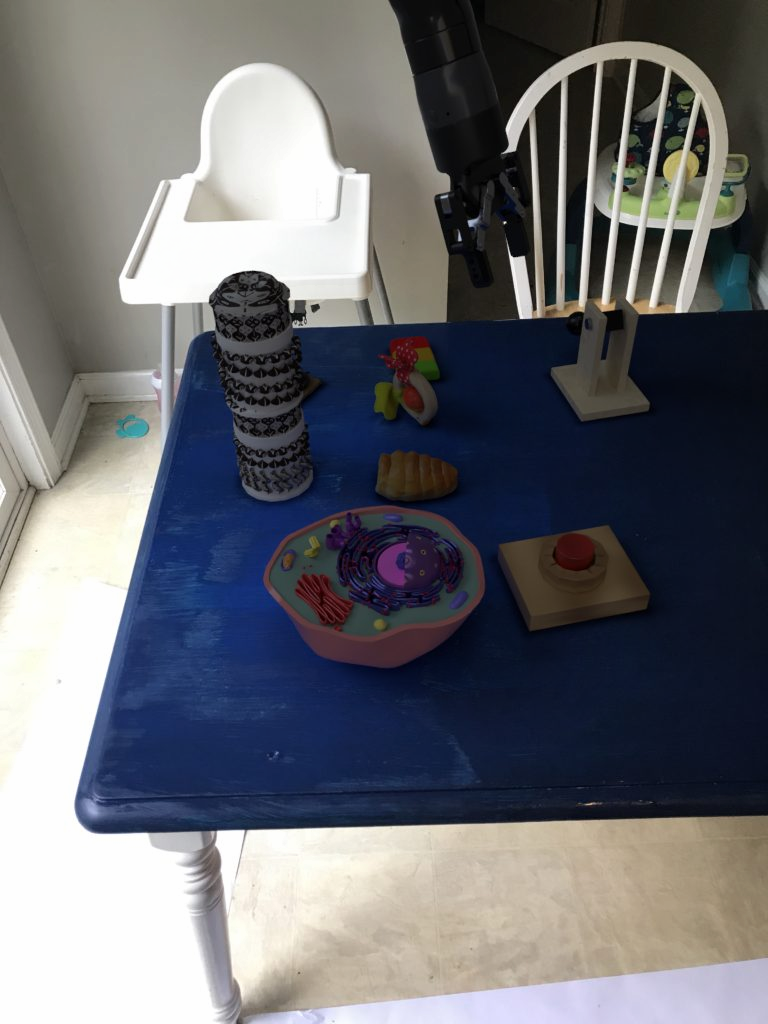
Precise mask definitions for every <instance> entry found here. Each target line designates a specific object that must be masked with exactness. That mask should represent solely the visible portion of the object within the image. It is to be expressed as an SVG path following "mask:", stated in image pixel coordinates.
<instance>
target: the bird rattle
mask: <svg viewBox="0 0 768 1024" xmlns="http://www.w3.org/2000/svg"><path fill="white" fill-rule="evenodd" d="M378 358H379V359H381V360H384V361H385V366H386V368H387V369H389V370H393V369H397V371H396V370H395V373H394V374H393V377H392V382H387V381H384V382H383V381H380V382H378V383H376V385H375V387H374V395H375V400H374V401H375V402H374V405H373V410H374V413H376V414H379V413H383V417H384V418H385V420H387V421H393V420H395V419H396V418H397V412H398V407H399V404H400V405H401V406H402V408H403V409H404V410H405V411H406V412H407V413H408V414H409V415H410V417H412V418H413V419H415V420H416V422H418V423H419V424H420V425H421V426H424V427H425V426H427V425H428V424H429V423H430V421H431V420H432V419H433V418H434V417H435V416H436V414H437V413H438V408H439V404H438V402H439V401H438V398H437V395H436V392H435V389H433V387H432V385H431V383H430V382H429V381H427V379H426V378H425V377H424V376H423V375H422V374H421V373H420V372H419V370H418V369H417V368H415V367H414V366H415V364H416V363H417V361H418V359H419V357H418V354H417V352H416V351H415V350H414V349H413V339H412V338H409V339H407V340H406V341H405V343H404V344H403V345H402V346H401V345H398V346H397V347H396V359H394V358H392V357H391V355H386V354H382V353H380V354H378Z"/></svg>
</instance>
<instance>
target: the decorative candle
mask: <svg viewBox="0 0 768 1024" xmlns="http://www.w3.org/2000/svg"><path fill="white" fill-rule="evenodd" d="M290 298H291V289H290V288H289V287H288V285H286V284H285V283H284V282H282V281H280V280H278V279H277V278H276V277H275V276H274V275H273V274H271V273H268V272H266V271H263V270H242V271H239V272H235V273H232V274H230V275H228V276H226V277H225V278H223V279H222V280H221V281H220V282H219V284H218V285H217V286H216V287H215V289H214V290H213V291H212V292H211V293H210V294H209V296H208V305H209V306H210V307H211V309H212V314H213V318H214V319H213V320H214V324H215V325H214V332H213V333H212V334H210V338H211V339H212V340H211V341H210V345H211V346H212V349H213V351H212V354H211V355H212V357H213V358H214V359H216V360H217V361H216V366H217V367H218V368H217V374H218V375H219V377H220V378H221V379H220V381H219V385H220V387H222V388H224V389H223V393H224V395H225V396H224V402H225V403H226V405H227V407H229V409H230V411H231V412H232V416H233V420H232V421H233V423H232V425H233V431H232V434H233V438H232V442H233V444H234V445H235V447H236V449H235V450H234V453H235V455H237V457H236V458H237V462H236V464H237V468H239V472H238V473H239V477H240V479H241V484H242V487H243V489H244V490H245V492H246V493H247V495H250V496H251V497H252V498H254V499H256V500H260V501H265V502H272V503H273V502H283V501H288V500H290V499H293V498H296V497H298V496H301V494H303V493H304V492H305V491H307V490H308V489H309V487H310V486H311V484H312V483H313V480H314V471H313V469H314V467H313V465H311V464H310V463H312V462H313V457H312V456H313V455H311V454H309V453H311V451H312V448H311V442H310V441H309V440H310V433H309V431H308V429H309V424H308V422H305V415H304V409H302V405H301V403H302V401H301V399H302V397H303V390H304V385H303V384H304V381H303V379H301V378H302V376H303V367H302V366H301V365H300V363H302V362H303V356H302V355H303V352H302V350H301V349H300V348H301V347H302V341H301V339H300V336H298V335H296V334H295V333H294V325H293V317H292V315H291V314H290V307H289V299H290ZM300 401H301V403H300Z"/></svg>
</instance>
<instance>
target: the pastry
mask: <svg viewBox="0 0 768 1024" xmlns="http://www.w3.org/2000/svg"><path fill="white" fill-rule="evenodd" d="M377 466H378V467H377V468H378V469H377V470H378V471H377V481H376V485H375V490H374V491H375V492H376V493H377V494H378V495H380V496H382V497H384V498H385V499H387V500H390V501H393V502H395V501H403V502H416V501H426V500H433V499H439V498H442V497H445V496H446V495H449V494H452V493H453V492H454V491H455V490H456V489H457V488H458V482H459V481H458V475H459V474H458V473H459V470H458V469H457V468H456V467H454V466H453V465H452V464H451V463H448V462H447V461H443V459H442V458H439V457H431V456H430V455H429V454H428V453H424V454H421V453H418V452H416V451H414V450H410V451H408V452H404V451H403V450H401V449H396V450H395V451H393V452H392V453H391V454H389V453H386V452H382V453H381V454H380V456H379V459H378V465H377Z"/></svg>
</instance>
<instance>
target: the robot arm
mask: <svg viewBox="0 0 768 1024" xmlns="http://www.w3.org/2000/svg"><path fill="white" fill-rule="evenodd" d="M387 1H388V3H389V5H390V8H391V10H392V13H393V14H394V16H395V20H396V22H397V26H398V31H399V34H400V39H401V42H402V46H403V50H404V54H405V57H406V60H407V64H408V67H409V70H410V74H411V75H412V82H413V86H414V90H415V91H414V92H415V99H416V102H417V106H418V107H417V108H418V110H419V114H420V116H421V120H422V123H423V126H424V130H425V134H426V137H427V140H428V141H427V142H428V144H429V147H430V152H431V154H432V158H433V161H434V164H435V165H434V166H435V168H436V170H437V172H438V173H441V174H446V175H447V176H448V177H449V182H450V190H449V191H445V192H442V193H441V192H440V193H437V194H435V195H434V197H433V202H434V206H435V210H436V214H437V218H438V221H439V225H440V229H441V233H442V236H443V240H444V245H445V248H446V252H447V254H448V255H449V256H454V255H462V256H463V258H464V261H465V264H466V268H467V271H468V275H469V278H470V281H471V283H472V287H474V288H475V289H483V288H489V287H491V286H492V285H493V284H494V283H495V278H494V275H493V271H492V266H491V264H490V260H489V256H488V252H487V249H485V241H486V240H485V239H486V231H487V229H489V227H490V225H491V217H493V216H494V214H496V216H497V217H498V218H499V219H500V220H501V221H502V222H503V223H504V224H502V228H503V233H504V235H505V240H506V244H507V247H508V251H509V255H510V256H511V257H512V258H521V257H526V256H527V255H529V254H530V253H531V249H532V248H531V246H530V245H531V244H530V241H529V237H528V233H527V229H526V226H525V223H524V219H525V218H526V214H527V212H526V208H530V207H531V206H532V201H533V200H532V198H531V193H530V189H529V186H528V183H527V179H526V175H525V171H524V168H523V164H522V160H521V158H520V154H519V152H518V151H517V150H514V151H513V150H512V151H508V149H509V146H510V141H509V137H508V134H507V129H506V126H505V121H504V117H503V112H502V110H501V105H500V102H499V97H498V93H497V90H496V89H497V88H496V85H495V82H494V77H493V74H492V71H491V69H490V65H489V62H488V61H487V59H486V56H485V55H486V54H485V52H484V49H482V48H483V46H482V41H481V37H480V34H479V30H478V25H477V21H476V19H475V13H474V9H473V6H472V3H471V1H470V0H387ZM506 151H508V152H506ZM515 188H517V189H518V192H517V191H516V189H515ZM468 218H469V219H468ZM454 230H456V231H457V232H458V236H457V240H456V237H455V232H454ZM472 232H474V235H473V237H472Z"/></svg>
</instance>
